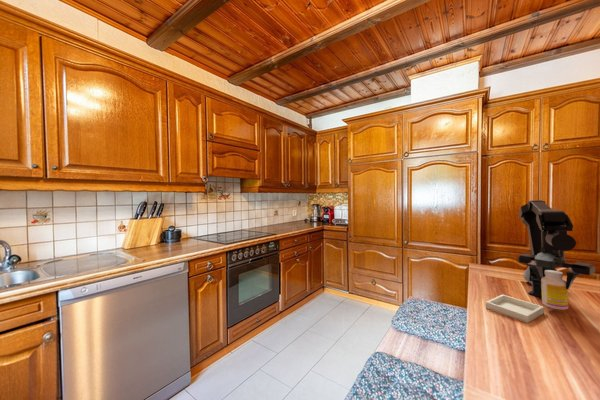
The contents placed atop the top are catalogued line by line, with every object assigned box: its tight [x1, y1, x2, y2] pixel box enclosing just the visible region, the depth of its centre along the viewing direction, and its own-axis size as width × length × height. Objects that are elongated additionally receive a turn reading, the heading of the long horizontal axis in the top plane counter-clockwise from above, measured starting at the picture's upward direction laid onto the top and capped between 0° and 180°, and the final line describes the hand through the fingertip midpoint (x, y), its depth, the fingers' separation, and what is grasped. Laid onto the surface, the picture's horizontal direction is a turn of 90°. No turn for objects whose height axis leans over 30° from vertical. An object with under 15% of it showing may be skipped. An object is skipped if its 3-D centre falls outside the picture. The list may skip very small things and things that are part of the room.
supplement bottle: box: [541, 270, 569, 311], centre depth 87 cm, size 7×7×13 cm
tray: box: [485, 294, 545, 324], centre depth 89 cm, size 13×13×2 cm
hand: (553, 285), depth 87 cm, fingers closed on supplement bottle, 7 cm apart
